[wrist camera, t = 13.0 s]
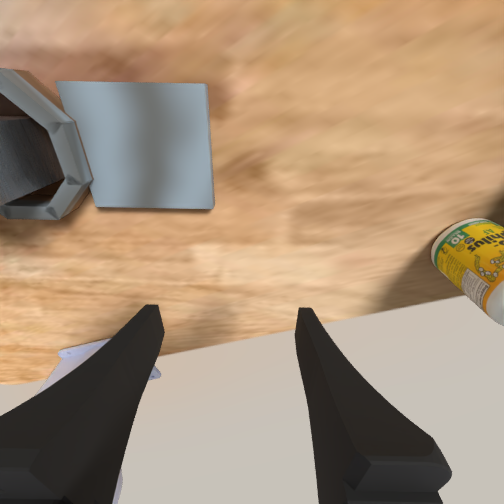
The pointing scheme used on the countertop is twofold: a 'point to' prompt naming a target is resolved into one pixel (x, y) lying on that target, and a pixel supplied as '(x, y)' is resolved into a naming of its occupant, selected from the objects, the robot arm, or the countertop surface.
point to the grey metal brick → (25, 158)
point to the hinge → (118, 144)
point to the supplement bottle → (474, 262)
